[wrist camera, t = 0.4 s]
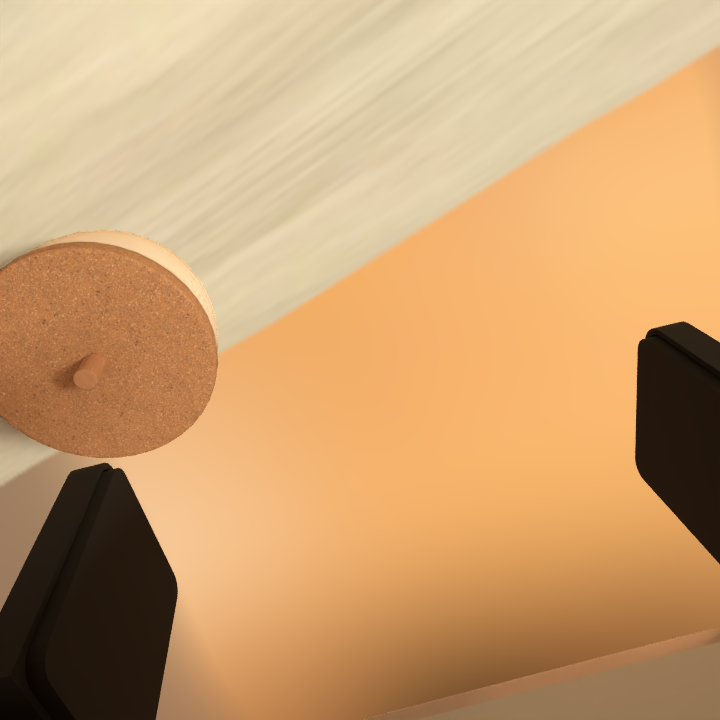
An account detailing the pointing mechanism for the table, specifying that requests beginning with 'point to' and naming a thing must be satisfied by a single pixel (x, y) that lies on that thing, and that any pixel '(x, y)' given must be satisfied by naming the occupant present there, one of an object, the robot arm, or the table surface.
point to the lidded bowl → (104, 344)
